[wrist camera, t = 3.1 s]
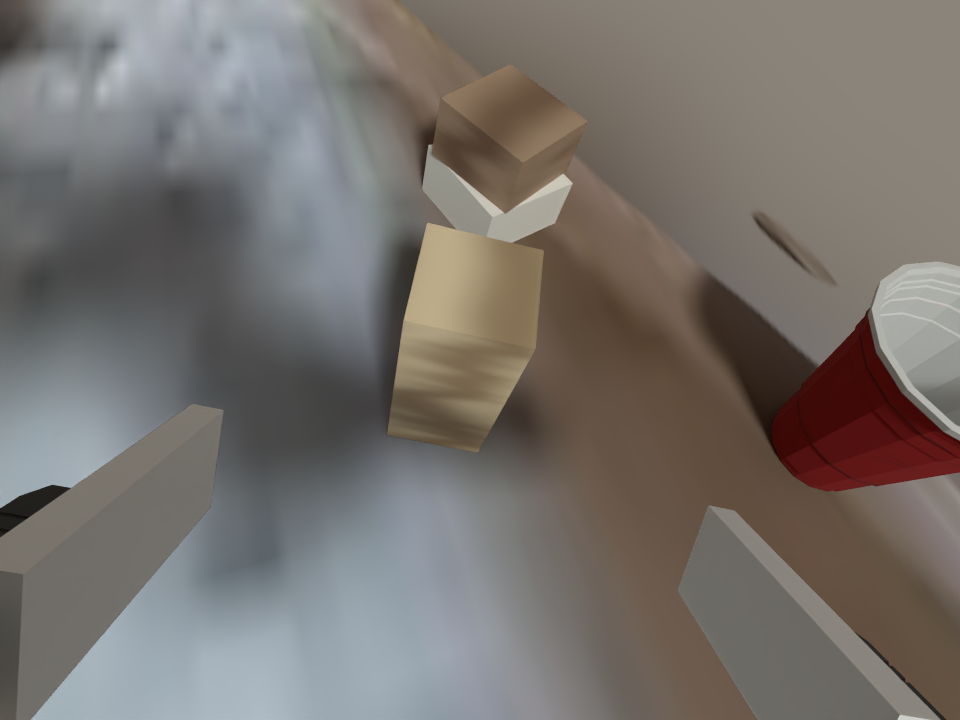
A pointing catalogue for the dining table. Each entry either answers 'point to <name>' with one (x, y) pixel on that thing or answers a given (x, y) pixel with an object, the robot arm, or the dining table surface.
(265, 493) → the dining table surface
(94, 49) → the dining table surface
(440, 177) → the offwhite block
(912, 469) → the plastic cup
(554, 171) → the walnut block
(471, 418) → the oak block
